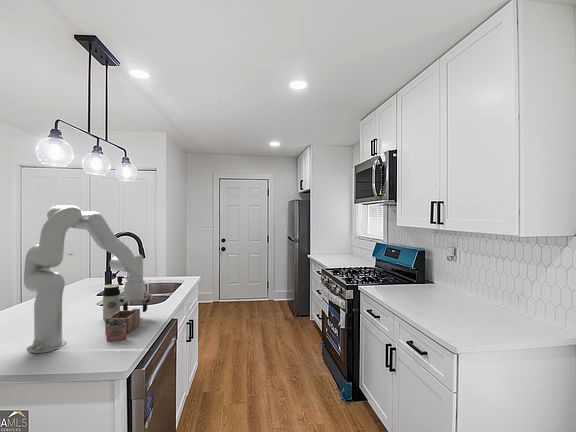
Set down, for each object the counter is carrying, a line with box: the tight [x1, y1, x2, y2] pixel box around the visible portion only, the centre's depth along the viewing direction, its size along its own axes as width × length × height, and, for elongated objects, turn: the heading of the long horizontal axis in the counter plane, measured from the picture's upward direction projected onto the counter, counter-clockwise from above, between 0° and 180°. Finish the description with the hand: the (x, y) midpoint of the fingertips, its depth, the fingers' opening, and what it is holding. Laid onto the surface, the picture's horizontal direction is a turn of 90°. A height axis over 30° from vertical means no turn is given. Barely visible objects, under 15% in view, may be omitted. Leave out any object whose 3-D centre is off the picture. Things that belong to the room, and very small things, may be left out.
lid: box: [130, 308, 141, 319], centre depth 176 cm, size 14×11×6 cm
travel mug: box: [102, 283, 121, 321], centre depth 178 cm, size 8×8×18 cm
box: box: [104, 310, 140, 336], centre depth 161 cm, size 13×10×8 cm
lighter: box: [105, 318, 128, 343], centre depth 148 cm, size 8×3×10 cm, turn 105°
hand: (135, 311), depth 177 cm, fingers open, 9 cm apart
